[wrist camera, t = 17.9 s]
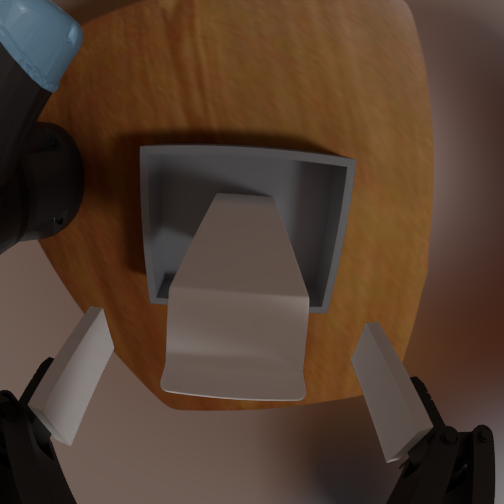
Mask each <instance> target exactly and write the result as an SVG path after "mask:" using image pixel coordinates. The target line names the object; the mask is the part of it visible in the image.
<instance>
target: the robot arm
mask: <svg viewBox="0 0 504 504" xmlns="http://www.w3.org/2000/svg"><path fill="white" fill-rule="evenodd" d="M82 40H83V32H82V29H81V26H80V25H79V24H78V23H77V22H76V21H75V20H74V19H73V18H72V17H71V16H69V15H68V14H67V13H66V12H64V11H63V10H62V9H60V8H59V7H58V6H57V5H55V4H54V3H53V2H51V1H50V0H0V255H1V254H2V253H3V252H5V251H6V250H7V249H9V248H10V247H12V246H13V245H15V244H16V243H18V242H21V241H28V240H36V239H44V238H48V237H51V236H53V235H55V234H57V233H58V232H60V231H61V230H63V229H64V228H66V227H67V226H68V225H69V224H70V223H71V222H72V220H73V219H74V218H75V216H76V214H77V212H78V210H79V207H80V204H81V201H82V196H83V190H84V172H83V165H82V160H81V157H80V153H79V151H78V148H77V146H76V144H75V142H74V141H73V139H72V138H71V136H70V135H69V134H68V133H67V132H66V131H65V130H64V129H63V128H61V127H60V126H58V125H55V124H52V123H39V124H35V123H36V121H37V119H38V117H39V115H40V114H41V112H42V110H43V108H44V106H45V104H46V103H47V101H48V99H49V98H50V96H51V94H52V92H55V91H56V90H57V89H58V87H59V81H60V79H61V77H62V76H63V74H64V72H65V71H66V69H67V68H68V66H69V64H70V63H71V61H72V60H73V58H74V57H75V55H76V54H77V52H78V51H79V49H80V47H81V44H82ZM113 350H114V345H113V342H112V339H111V336H110V332H109V329H108V325H107V322H106V318H105V314H104V311H103V308H98V307H92V306H90V308H89V309H88V311H87V312H86V313H85V315H84V316H83V317H82V319H81V320H80V322H79V323H78V325H77V326H76V327H75V329H74V330H73V332H72V333H71V335H70V336H69V338H68V339H67V341H66V342H65V344H64V345H63V347H62V348H61V350H60V351H59V353H58V354H57V356H56V357H55V359H54V358H51V357H49V358H48V359H46V360H45V361H44V362H43V363H42V364H41V365H40V366H39V368H38V370H37V371H36V373H35V374H34V376H33V379H31V381H30V383H29V384H28V386H27V387H26V389H25V391H24V393H23V395H22V396H21V398H20V400H19V401H18V400H17V399H16V397H15V396H14V395H13V394H12V393H11V392H10V391H8V390H2V391H0V504H77V503H76V501H75V499H74V497H73V495H72V493H71V491H70V488H69V486H68V484H67V481H66V479H65V477H64V474H63V472H62V469H61V467H60V464H59V461H58V459H57V456H56V453H55V450H54V447H53V444H52V442H51V440H50V436H51V434H52V435H53V436H54V437H55V438H56V439H57V440H58V441H60V442H62V443H65V444H67V445H70V446H71V445H72V442H73V440H74V437H75V434H76V432H77V429H78V427H79V424H80V422H81V420H82V417H83V415H84V412H85V410H86V408H87V405H88V403H89V401H90V399H91V396H92V394H93V392H94V389H95V387H96V385H97V383H98V381H99V379H100V376H101V374H102V372H103V370H104V368H105V366H106V364H107V362H108V360H109V358H110V356H111V354H112V352H113ZM351 362H352V365H353V367H354V370H355V373H356V375H357V378H358V381H359V383H360V386H361V389H362V391H363V394H364V397H365V400H366V403H367V405H368V408H369V411H370V414H371V417H372V420H373V423H374V426H375V429H376V432H377V434H378V438H379V441H380V444H381V447H382V450H383V453H384V456H385V459H386V462H391V461H394V460H398V459H401V458H402V457H403V456H404V455H406V454H407V453H408V455H409V458H408V459H407V460H406V461H405V462H404V463H403V464H401V466H400V467H399V469H401V468H402V467H404V468H403V471H402V473H401V475H400V477H399V479H398V482H397V484H396V486H395V488H394V490H393V492H392V494H391V495H390V497H389V499H388V501H387V503H386V504H494V498H495V453H494V440H493V434H492V431H491V430H490V428H488V427H487V426H485V425H478V426H477V427H476V428H474V430H473V431H472V432H457V431H456V429H454V428H453V427H451V426H445V424H444V422H443V420H442V418H441V416H440V414H439V412H438V410H437V408H436V406H435V404H434V402H433V400H431V399H432V398H431V396H430V394H428V391H427V389H426V387H425V385H424V383H422V381H421V380H419V379H418V378H417V377H410V378H409V376H408V374H407V372H406V370H405V368H404V367H403V364H402V363H401V361H400V359H399V357H398V355H397V353H396V352H395V350H394V348H393V346H392V344H391V343H390V341H389V339H388V337H387V336H386V334H385V332H384V330H383V329H382V327H381V325H380V324H379V322H369V323H365V326H364V329H363V332H362V334H361V337H360V340H359V342H358V345H357V347H356V350H355V352H354V355H353V357H352V360H351ZM466 465H467V468H466Z"/></svg>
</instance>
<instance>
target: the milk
mask: <svg viewBox="0 0 504 504" xmlns="http://www.w3.org/2000/svg"><path fill="white" fill-rule="evenodd" d="M308 312H309V296H308V293H307V290H306V287H305V284H304V281H303V278H302V275H301V272H300V269H299V266H298V263H297V261H296V258H295V255H294V252H293V249H292V246H291V243H290V241H289V238H288V235H287V232H286V230H285V227H284V224H283V221H282V219H281V216H280V213H279V210H278V208H277V205H276V202H275V200H274V197H267V196H256V195H244V194H230V193H217V194H216V196H215V198H214V199H213V201H212V203H211V205H210V207H209V209H208V211H207V213H206V215H205V216H204V218H203V220H202V222H201V224H200V226H199V228H198V230H197V232H196V234H195V236H194V238H193V240H192V242H191V244H190V246H189V248H188V250H187V252H186V254H185V256H184V258H183V260H182V262H181V264H180V267H179V269H178V271H177V273H176V275H175V277H174V279H173V281H172V283H171V286H170V288H169V298H168V315H167V338H166V364H165V368H164V371H163V374H162V378H161V381H160V385H161V388H162V389H163V390H164V391H166V392H171V393H178V394H186V395H194V396H202V397H212V398H224V399H238V400H260V401H299V400H302V399H303V398H304V397H305V395H306V388H305V382H304V377H303V365H304V355H305V346H306V335H307V324H308Z"/></svg>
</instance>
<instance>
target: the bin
mask: <svg viewBox="0 0 504 504" xmlns="http://www.w3.org/2000/svg"><path fill="white" fill-rule="evenodd" d="M355 167H356V160H355V159H352V158H348V157H345V156H341V155H336V154H329V153H322V152H314V151H306V150H298V149H288V148H278V147H266V146H253V145H235V144H206V143H167V144H152V145H145V146H140V195H141V216H142V232H143V244H144V255H145V265H146V274H147V282H148V290H149V297H150V303H155V304H165V305H168V298H169V288H170V286H171V283H172V281H173V279H174V277H175V275H176V273H177V271H178V269H179V267H180V264H181V262H182V260H183V258H184V256H185V254H186V252H187V250H188V248H189V246H190V244H191V242H192V240H193V238H194V236H195V234H196V232H197V230H198V228H199V226H200V224H201V222H202V220H203V218H204V216H205V215H206V213H207V211H208V209H209V207H210V205H211V203H212V201H213V199H214V198H215V196H216V194H217V193H230V194H244V195H256V196H267V197H274V200H275V202H276V205H277V208H278V210H279V213H280V216H281V219H282V221H283V224H284V227H285V230H286V232H287V235H288V238H289V241H290V243H291V246H292V249H293V252H294V255H295V258H296V261H297V263H298V266H299V269H300V272H301V275H302V278H303V281H304V284H305V287H306V290H307V293H308V296H309V312H308V313H327V311H328V308H329V304H330V300H331V295H332V291H333V287H334V283H335V278H336V274H337V270H338V265H339V260H340V256H341V251H342V246H343V241H344V236H345V230H346V225H347V219H348V213H349V208H350V201H351V195H352V189H353V182H354V175H355Z"/></svg>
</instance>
